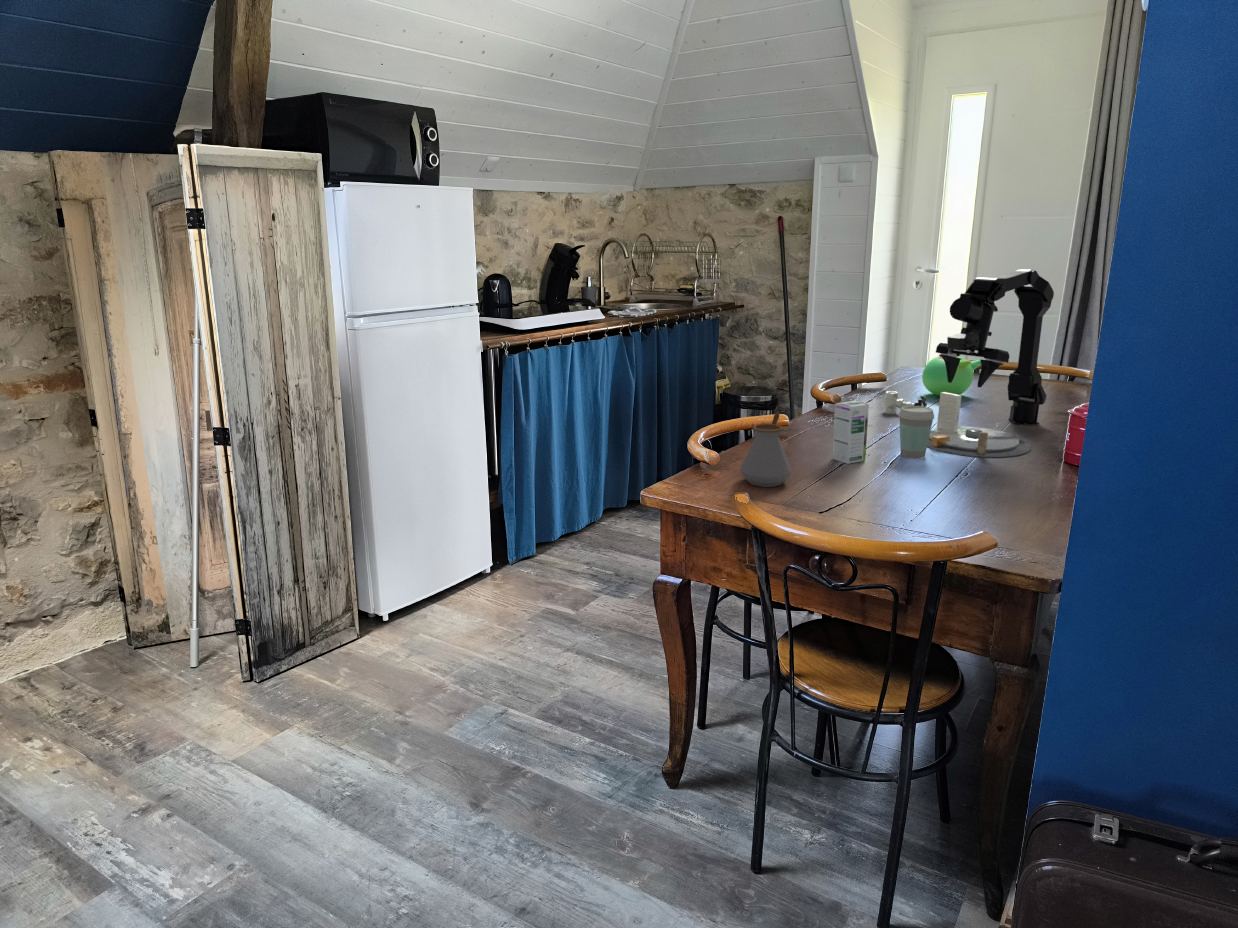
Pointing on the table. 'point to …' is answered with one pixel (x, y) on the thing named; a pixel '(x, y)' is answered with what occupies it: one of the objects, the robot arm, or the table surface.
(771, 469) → the coffee pot
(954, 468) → the table surface
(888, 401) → the valve
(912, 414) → the coffee cup
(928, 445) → the grey round disc
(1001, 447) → the grey stand
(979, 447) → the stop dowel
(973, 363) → the toy bird
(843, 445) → the syrup box
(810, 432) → the table surface
